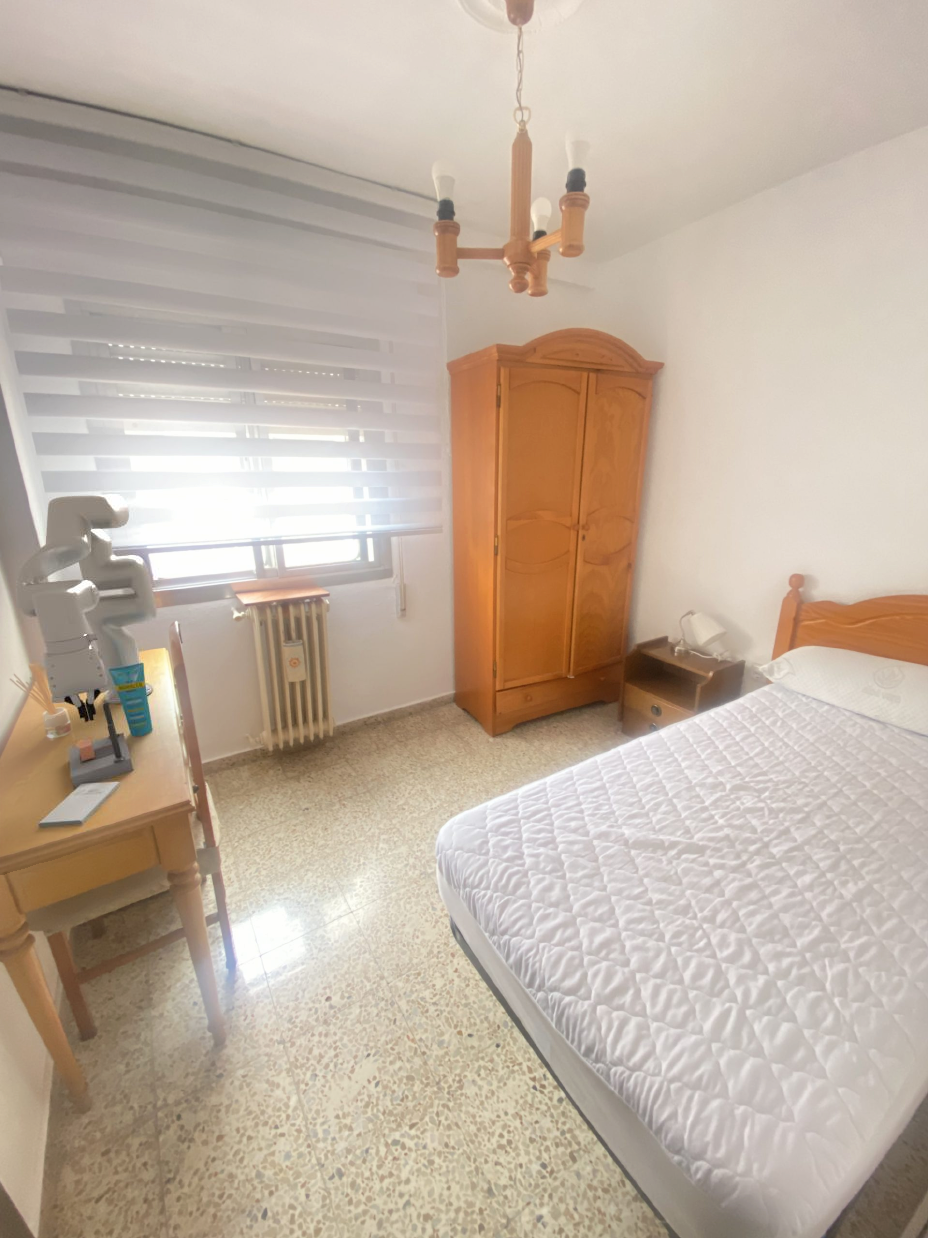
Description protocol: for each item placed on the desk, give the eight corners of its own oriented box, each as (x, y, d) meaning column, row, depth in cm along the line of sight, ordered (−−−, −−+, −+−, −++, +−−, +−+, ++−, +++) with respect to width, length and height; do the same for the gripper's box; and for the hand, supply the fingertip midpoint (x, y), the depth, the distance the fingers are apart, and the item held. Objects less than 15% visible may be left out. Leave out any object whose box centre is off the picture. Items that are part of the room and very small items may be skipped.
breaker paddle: (81, 753, 115) (77, 741, 114) (94, 749, 116) (90, 738, 115) (82, 761, 112) (78, 749, 111) (95, 757, 113) (91, 745, 112)
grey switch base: (72, 758, 119) (68, 747, 118) (125, 742, 125) (123, 731, 124) (74, 790, 107) (70, 777, 106) (133, 770, 114) (130, 758, 113)
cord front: (115, 756, 112) (106, 724, 110) (121, 754, 113) (113, 722, 110) (116, 759, 111) (107, 726, 109) (122, 757, 112) (113, 724, 110)
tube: (125, 740, 126) (107, 671, 121) (125, 732, 130) (108, 665, 124) (159, 731, 130) (143, 664, 124) (158, 724, 134) (142, 659, 128)
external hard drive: (39, 829, 96) (82, 789, 108) (83, 827, 97) (120, 787, 109) (37, 823, 96) (80, 783, 108) (81, 820, 96) (119, 781, 108)
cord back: (110, 733, 122) (102, 703, 120) (115, 731, 123) (107, 701, 120) (110, 735, 121) (102, 704, 119) (116, 733, 122) (108, 703, 120)
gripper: (108, 632, 114) (126, 703, 120) (24, 647, 105) (47, 723, 111) (111, 640, 109) (129, 714, 114) (22, 657, 100) (47, 737, 105)
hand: (89, 719), depth 113 cm, fingers closed
